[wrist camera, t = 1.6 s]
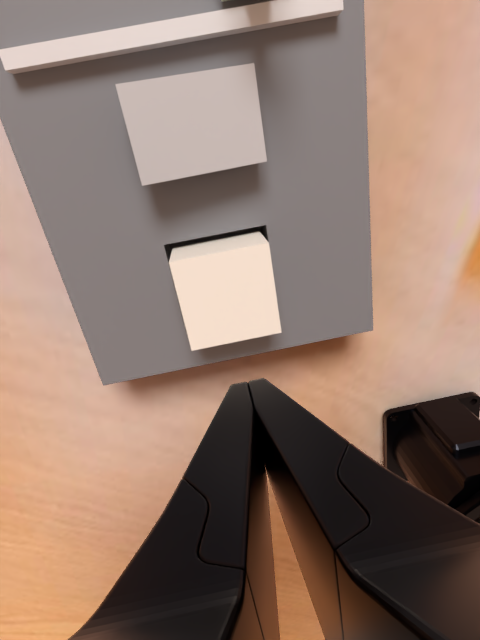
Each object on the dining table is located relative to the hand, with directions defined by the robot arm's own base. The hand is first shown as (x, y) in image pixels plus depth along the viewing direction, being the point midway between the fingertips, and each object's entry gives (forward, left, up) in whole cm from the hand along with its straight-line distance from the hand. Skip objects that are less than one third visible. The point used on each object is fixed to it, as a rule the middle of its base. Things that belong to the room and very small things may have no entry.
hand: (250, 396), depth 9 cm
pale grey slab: (+7, 0, -8) cm, 10 cm away
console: (+6, 0, -12) cm, 13 cm away
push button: (0, 0, -9) cm, 9 cm away
